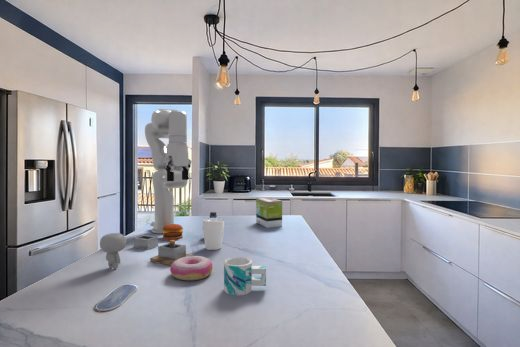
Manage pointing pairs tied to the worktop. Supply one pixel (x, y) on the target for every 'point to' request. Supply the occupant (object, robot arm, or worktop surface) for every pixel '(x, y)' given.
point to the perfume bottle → (213, 215)
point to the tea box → (269, 212)
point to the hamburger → (172, 232)
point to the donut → (191, 268)
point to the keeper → (166, 261)
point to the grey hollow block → (145, 242)
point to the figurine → (113, 248)
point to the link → (172, 251)
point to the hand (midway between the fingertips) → (178, 180)
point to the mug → (242, 276)
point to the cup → (213, 233)
